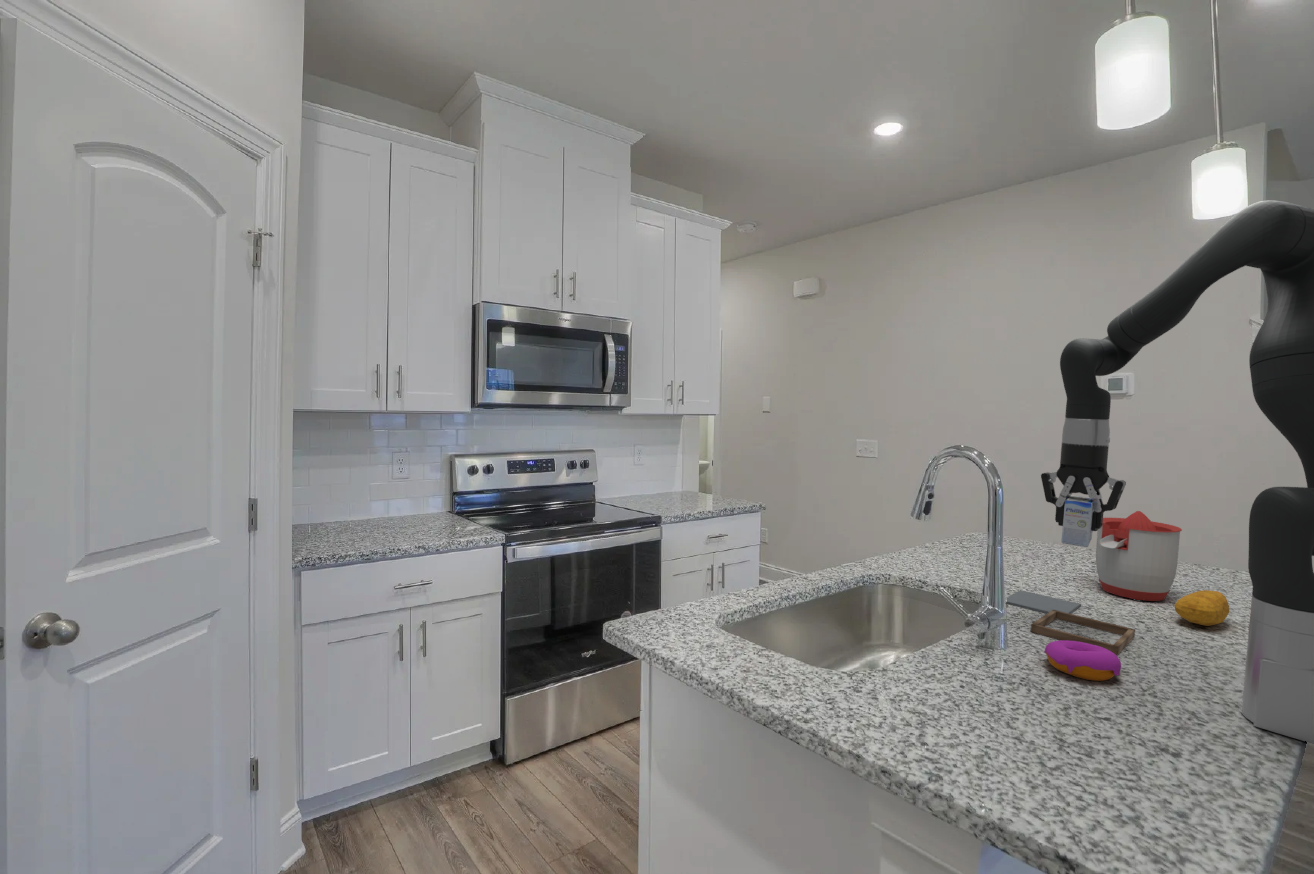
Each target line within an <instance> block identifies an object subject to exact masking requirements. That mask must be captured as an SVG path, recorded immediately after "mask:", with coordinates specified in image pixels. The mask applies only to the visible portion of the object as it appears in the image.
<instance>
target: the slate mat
mask: <svg viewBox="0 0 1314 874" xmlns="http://www.w3.org/2000/svg"><path fill="white" fill-rule="evenodd" d="M1006 598H1007V605H1010V606H1013V607H1018V608H1019V607H1020V608H1023V609H1026V610H1030V611H1035V612H1039V613H1043V614H1045V615H1046V614H1047V613H1049V612H1050V611H1052V610H1057V611H1061V612H1065V613H1069V614H1073V612H1075V611H1076V610H1078V608H1080V607H1082V603H1080V602H1079V603H1078V602H1074V601H1069V600H1065V599H1061V598H1056V597H1052V596H1048V595H1043V594H1041V593H1040V594H1038V593H1035V592H1031V591H1026V590H1022V589H1020V590H1018V591H1016V592H1014V593H1012V594H1010V595H1009V596H1007V597H1006Z"/></svg>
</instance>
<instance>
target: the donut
mask: <svg viewBox="0 0 1314 874" xmlns="http://www.w3.org/2000/svg"><path fill="white" fill-rule="evenodd" d="M1044 647H1045V648H1044V651H1043V652H1044V653H1045V655H1046V657H1047V660H1048V662H1049V664H1050V665H1051V666H1052V667H1054V668H1055V669H1056V670H1058V671H1061V672H1062V673H1065V674H1068V675H1070V676H1073V677H1076V678H1080V679H1082V680H1088V681H1093V682H1103V681H1107V680H1110V679H1112V678H1113V677H1114V676H1115V677H1116V676H1120V675H1121V671H1122V663H1121V660H1120V657H1118V655H1115V654H1114V653H1113V652H1111V651H1109V650H1107V649H1105V648H1103V647H1100V646H1096V645H1092V644H1088V643H1083V642H1077V641H1068V640H1059V639H1057V640H1053V641H1050V642H1049V643H1048V644H1046V646H1044Z"/></svg>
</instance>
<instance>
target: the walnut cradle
mask: <svg viewBox="0 0 1314 874" xmlns="http://www.w3.org/2000/svg"><path fill="white" fill-rule="evenodd" d="M1055 620H1060V621H1064V622H1067V623H1068V622H1069V623H1071V624H1076V625H1080V626H1083V627H1088V628H1092V629H1096V630H1100V631H1103V632H1108V633H1111V634H1116V635H1119V634H1120V637H1119V638H1118V639H1117V640H1116V641H1115V643H1113V644H1112V643H1108V642H1104V641H1102V640H1097V639H1094V638H1090V637H1086V636H1083V635H1080V634H1079V635H1078V634H1075V633H1072V632H1066V631H1063V630H1059V629H1056V628H1051V627H1048V625H1049V624H1050V623H1052V622H1054V621H1055ZM1030 633H1032V634H1033V633H1034V634H1036V635H1041V636H1044V637H1047V638H1052V639H1056V640H1068V641H1077V642H1083V643H1088V644H1092V645H1096V646H1100V647H1103V648H1105V649H1107V650H1109V651H1111V652H1113V653H1114V654H1115V655H1116V656H1118V655H1119V654H1120V653H1121V652H1122V651H1123V650H1124V649H1125V648H1126V647H1127V646H1128V645H1129V644H1130V642H1131V641H1132V640H1133V639H1134V638H1135V634H1136V629H1135V628H1131V627H1127V626H1122V625H1119V624H1115V623H1109V622H1107V621H1106V622H1105V621H1101V620H1098V619H1094V618H1090V617H1085V616H1081V615H1077V614H1073V613H1071V614H1069V613H1065V612H1061V611H1057V610H1052V611H1050V612H1049V613H1047V614H1046V613H1045V614H1044V615H1043V616H1041V617H1040V618H1038V619H1037V620H1035V621H1034V622H1032V623H1031V624H1030ZM1127 644H1128V645H1127Z"/></svg>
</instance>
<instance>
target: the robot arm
mask: <svg viewBox="0 0 1314 874" xmlns="http://www.w3.org/2000/svg"><path fill="white" fill-rule="evenodd" d="M1244 267H1251V268H1255V269H1259V270H1260V271H1261V272H1262V275H1263V278H1264V284H1265V288H1266V294H1267V295H1266V296H1267V311H1266V315H1265V318H1264V320H1263V323H1262V324H1261V326H1260V328H1259V329H1258V332H1257V334H1256V335H1255V338H1254V341H1253V343H1252V345H1251V348H1250V352H1249V373H1250V378H1251V379H1250V380H1251V388H1252V394H1253V398H1254V401H1255V402H1256V405H1257V406H1258V408H1259V410H1260V411H1261V412H1262V414H1263V415H1264V416H1265V417H1266V418H1267V420H1268V421H1269V422H1270V423H1271V424H1272V425H1273V426H1274V427H1275V428H1276V429H1277V430H1278V432H1279V433H1280V434H1282V436H1283V437H1284V438H1285V439H1286V440H1287V441H1288V443H1289V444H1290V445H1291V446H1292V447H1293V450H1295V452H1296V454H1297V455H1298V458H1299V459H1300V462H1301V465H1302V468H1303V472H1304V476H1305V481H1306V487H1304V486H1303V487H1301V486H1300V487H1299V486H1272V487H1268V488H1265V489H1264V490H1262V491H1261V492H1260V493H1259V494H1257V496H1256V497H1255V499H1254V501H1253V503H1252V505H1251V509H1250V511H1249V512H1250V513H1249V519H1248V521H1249V522H1248V561H1247V562H1248V565H1247V566H1248V567H1247V569H1248V574H1249V578H1250V580H1251V583H1252V591H1251V595H1252V596H1251V603H1250V615H1249V624H1248V634H1247V635H1248V636H1247V647H1246V656H1245V657H1246V658H1245V667H1244V668H1245V669H1244V678H1243V679H1244V680H1243V690H1242V691H1243V692H1242V703H1241V704H1242V705H1241V713H1242V715H1243V717H1245V718H1246V719H1247V720H1249V721H1250V722H1252V723H1253V726H1254V727H1256V728H1260V729H1263V730H1267V731H1270V732H1273V733H1276V734H1279V735H1283V736H1286V737H1289V738H1293V739H1296V740H1299V741H1303V742H1305V741H1306V743H1308V744H1312V745H1314V567H1313V557H1314V208H1311V207H1308V206H1307V207H1306V206H1303V205H1299V204H1295V203H1291V202H1287V201H1282V200H1273V199H1272V200H1271V199H1269V200H1261V201H1257V202H1255V203H1252V204H1250V205H1248V206H1246V207H1244V208H1243V209H1241V210H1240V211H1238V212H1237V213H1235V214H1234V215H1233V216H1232V217H1230V218H1229V219H1228V220H1227V221H1225V222H1224V223H1223V225H1221V226H1220V227H1219V228H1218V229H1217V230H1216V231H1215V232H1214V233H1213V234H1212V235H1211V236H1210V237H1209V238H1208V239H1207V240H1205V242H1204V243H1203V244H1202V245H1201V246H1200V247H1199V248H1197V250H1196V251H1194V253H1192V254H1191V255H1190V256H1189V257H1188V258H1187V259H1186V260H1185V261H1184V262H1183V263H1182V264H1180V266H1179V267H1178V268H1176V269H1175V270H1174V271H1173V272H1172V273H1171V274H1170V275H1169V276H1168V277H1167V278H1166V279H1165V280H1164V281H1162V282H1161V283H1160V284H1159V285H1158V286H1156V287H1155V288H1154V289H1153V290H1151V291H1150V292H1148V294H1146V295H1145V296H1143V297H1142V298H1141V299H1139V300H1138V301H1137V302H1135V303H1134V304H1132V305H1130V306H1129V307H1128V308H1126V310H1124V311H1122V312H1121V313H1119V314H1118V315H1117V316H1115V318H1113V319H1112V320H1110V322H1109V323H1108V325H1107V328H1106V332H1107V336H1105V337H1104V338H1100V339H1099V338H1087V337H1086V338H1084V337H1083V338H1076V339H1073V340H1071V341H1069V342H1068V343H1067V344H1066V345H1065V347H1063V349H1062V351H1061V354H1060V358H1059V368H1060V369H1059V370H1060V373H1061V378H1062V379H1061V380H1062V382H1063V387H1064V391H1065V395H1066V405H1065V414H1064V417H1065V419H1064V424H1063V426H1062V434H1061V449H1060V461H1059V462H1060V463H1059V467H1058V469H1057V470H1056V472H1049V471H1047V472H1043V473H1041V474H1040V479H1041V483H1042V484H1041V485H1042V487H1043V488H1042V489H1043V492H1044V497H1045V501H1046V502H1047V503H1050V504H1052V505H1054V506H1055V515H1054V516H1055V517H1054V520H1055V523H1057V525H1058V526H1060V527H1063V519H1064V507H1065V501H1066V500H1067V499H1068V498H1069V497H1070V496H1073V495H1072V494H1083V495H1086V496H1088V498H1090V500H1091V502H1093V508H1094V512H1093V514H1092V524H1091V531H1093V532H1098V529H1100V528H1101V527H1102V524H1103V518H1104V513H1105V512H1109V511H1113V510H1115V509H1117V508H1118V507H1117V506H1118V504H1119V502H1120V499H1121V497H1122V495H1123V493H1124V490H1125V488H1126V487H1125V486H1126V484H1127V481H1125V480H1123V479H1121V480H1119V479H1116V478H1113V477H1110V475H1109V473H1108V470H1107V469H1108V458H1109V457H1108V456H1109V447H1110V445H1109V444H1110V442H1111V441H1110V440H1111V437H1110V436H1111V435H1110V433H1111V432H1110V430H1111V429H1110V413H1111V403H1112V402H1111V399H1112V397H1111V393H1110V391H1108V390H1107V389H1104V388H1102V387H1100V386H1099V385H1098V381H1097V377H1105V376H1108V375H1112V374H1114V373H1116V372H1118V371H1119V370H1121V369H1122V368H1124V367H1125V366H1126V365H1127V364H1128V363H1130V362H1131V360H1133V358H1134V357H1135V356H1136V355H1138V354H1139V352H1140V351H1141V350H1142V348H1144V347H1146V346H1147V345H1149V344H1150V343H1152V342H1154V341H1155V340H1157V339H1158V338H1159V337H1161V336H1162V335H1164V334H1166V333H1167V332H1169V331H1171V330H1172V329H1174V328H1175V327H1176V326H1177V325H1178V324H1180V323H1181V322H1182V321H1183V320H1184V319H1185V317H1187V316H1188V314H1189V313H1190V312H1191V310H1192V308H1193V307H1194V305H1195V304H1196V302H1198V300H1199V298H1200V297H1201V295H1203V294H1204V292H1205V291H1206V290H1208V289H1209V288H1210V287H1211V286H1212V285H1214V284H1215V283H1216V282H1218V281H1219V280H1221V279H1222V278H1225V277H1226V276H1228V275H1229V274H1231V273H1234V272H1236V271H1237V270H1239V269H1241V268H1244ZM1096 376H1097V377H1096ZM1057 478H1058V480H1059V481H1060V483H1061V485H1063V487H1062V489H1061V491H1060V493H1059V496H1058V497H1057V496H1056V495H1057V494H1056V491H1055V485H1054V483H1055V482H1056V479H1057ZM1107 483H1108V485H1109V486H1108V488H1109V490H1111V492H1110V495H1109V498H1108V499H1107V502H1106V503H1104V501H1103V496H1102V493H1101V490H1100V489H1101V488H1102V487H1104V486H1105V485H1106V484H1107Z"/></svg>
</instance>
